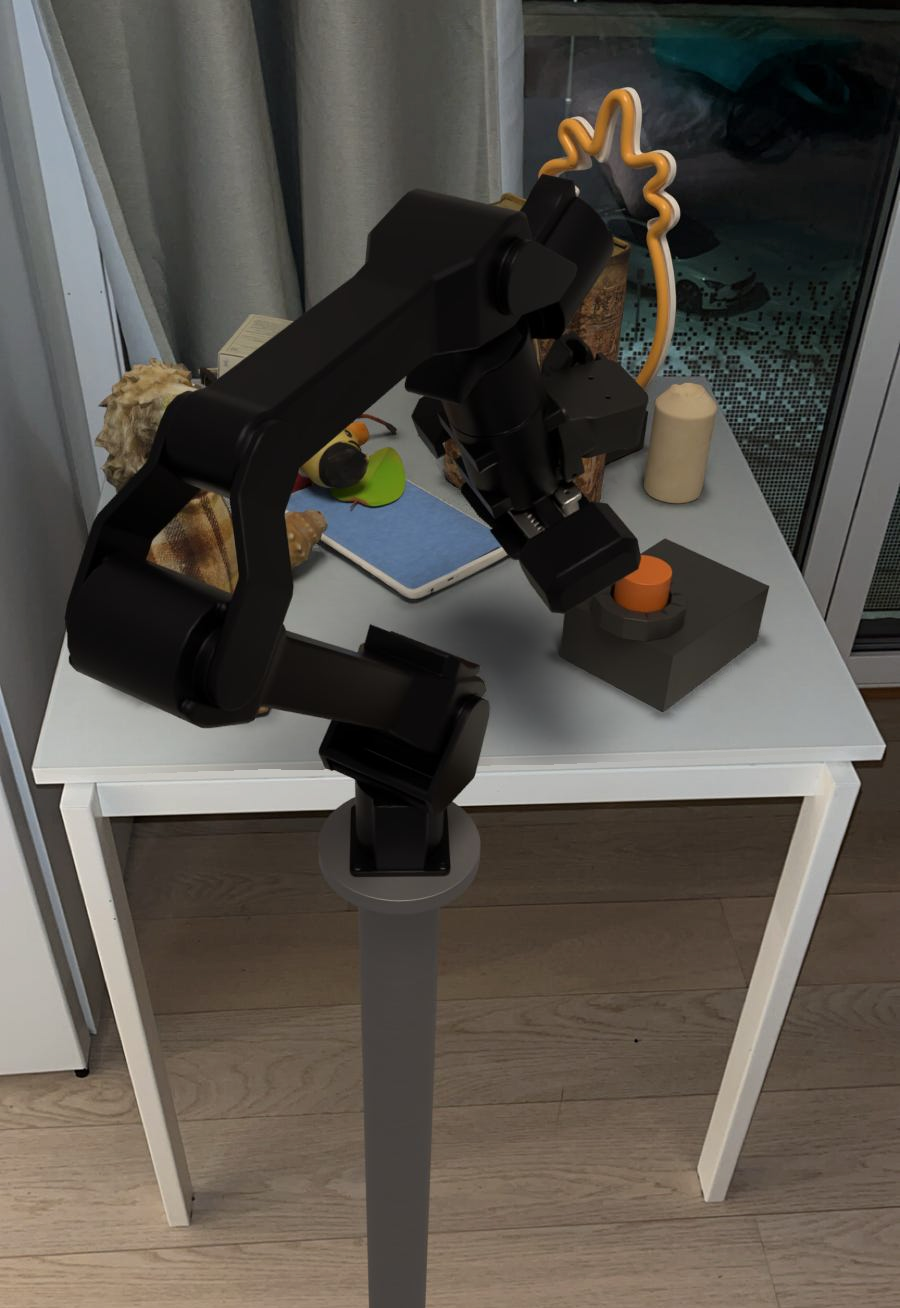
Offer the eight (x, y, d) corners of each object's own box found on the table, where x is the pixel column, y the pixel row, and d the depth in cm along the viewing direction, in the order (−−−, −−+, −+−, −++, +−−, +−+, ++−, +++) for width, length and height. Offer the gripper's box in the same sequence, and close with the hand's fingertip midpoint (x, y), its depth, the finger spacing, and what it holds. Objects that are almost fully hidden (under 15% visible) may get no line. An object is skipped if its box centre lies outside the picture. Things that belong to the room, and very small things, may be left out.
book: (605, 535, 115) (642, 248, 98) (560, 554, 112) (590, 263, 95) (488, 462, 124) (503, 189, 107) (443, 479, 122) (451, 201, 105)
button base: (655, 717, 96) (669, 641, 91) (551, 661, 101) (559, 585, 96) (757, 640, 104) (774, 566, 99) (656, 591, 108) (668, 518, 104)
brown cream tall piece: (84, 738, 91) (112, 397, 76) (66, 633, 100) (88, 314, 86) (278, 738, 96) (339, 421, 81) (243, 640, 106) (292, 340, 91)
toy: (337, 443, 122) (405, 478, 116) (254, 513, 119) (320, 552, 113) (302, 362, 115) (373, 395, 109) (213, 434, 112) (281, 472, 106)
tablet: (518, 553, 112) (520, 540, 111) (411, 606, 105) (411, 592, 104) (374, 470, 122) (374, 457, 121) (268, 513, 116) (267, 500, 115)
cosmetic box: (248, 355, 129) (214, 398, 120) (250, 310, 126) (215, 351, 117) (309, 367, 129) (280, 411, 119) (313, 322, 126) (283, 364, 117)
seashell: (250, 577, 114) (299, 481, 109) (296, 634, 110) (349, 537, 105) (163, 566, 107) (212, 463, 102) (208, 626, 103) (261, 522, 98)
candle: (683, 510, 119) (700, 408, 112) (632, 491, 121) (646, 390, 114) (711, 487, 122) (730, 387, 115) (661, 469, 124) (677, 369, 118)
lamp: (490, 426, 130) (509, 74, 108) (551, 401, 134) (582, 59, 113) (612, 490, 121) (660, 121, 99) (674, 462, 125) (732, 103, 104)
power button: (646, 620, 94) (651, 590, 92) (602, 598, 96) (606, 569, 94) (677, 598, 96) (683, 569, 94) (634, 577, 98) (639, 548, 96)
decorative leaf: (423, 495, 115) (423, 504, 116) (396, 444, 121) (396, 453, 121) (339, 508, 113) (340, 517, 114) (316, 456, 119) (316, 464, 120)
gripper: (708, 421, 68) (726, 594, 81) (536, 241, 77) (578, 422, 91) (528, 530, 68) (576, 684, 81) (377, 335, 77) (443, 502, 91)
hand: (545, 565), depth 86 cm, fingers closed
